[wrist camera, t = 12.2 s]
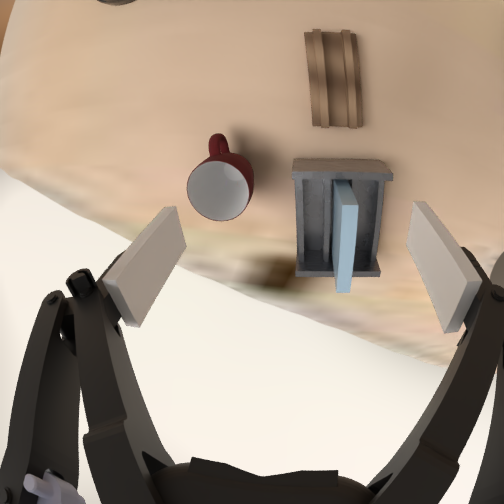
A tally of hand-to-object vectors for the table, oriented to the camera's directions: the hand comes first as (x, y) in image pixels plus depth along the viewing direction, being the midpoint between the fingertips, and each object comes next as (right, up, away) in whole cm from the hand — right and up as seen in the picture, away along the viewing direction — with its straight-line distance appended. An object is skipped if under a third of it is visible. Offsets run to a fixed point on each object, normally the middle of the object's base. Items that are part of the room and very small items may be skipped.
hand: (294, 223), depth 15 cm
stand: (+9, +22, +17) cm, 29 cm away
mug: (-5, +12, +27) cm, 30 cm away
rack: (+11, +5, +28) cm, 30 cm away
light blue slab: (+11, +5, +27) cm, 29 cm away
